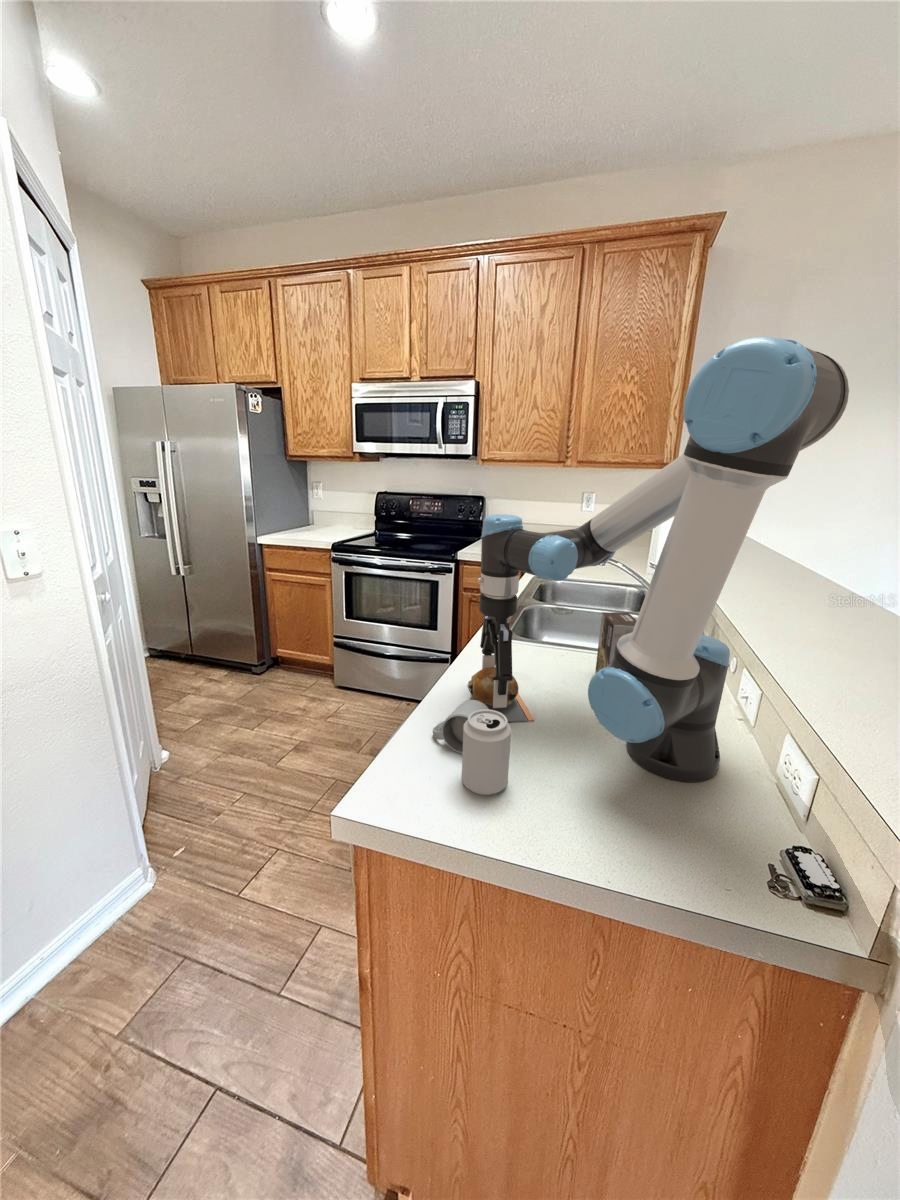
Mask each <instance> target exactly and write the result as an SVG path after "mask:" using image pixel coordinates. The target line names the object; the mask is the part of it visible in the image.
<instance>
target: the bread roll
mask: <svg viewBox="0 0 900 1200" xmlns="http://www.w3.org/2000/svg"><path fill="white" fill-rule="evenodd" d="M492 677H496V670H495V667H490V668H485V669H482V668H481V669H480V670H478V671H477V672H476V673H475V674H473V675H471V678H470V680H469V681H468V682H467V688H468V687H469V688H470V689H471V691H469V693H470V695H471V694H472V696H473V698H474V699H476V700H478V701H480V702H482V703H484V704H487V705H491V706H493V692H494V680H493V678H492ZM512 677H513V679H512V681H508V694H507V705H510V704H511V703H512V701H513V700H514V699H515V697H516V696H517V694H518V693H519V684H518V681H517V679H516V677H514V675H513V674H512ZM469 688H468V689H469ZM472 696H471V697H472ZM473 698H472V699H473ZM515 700H516V699H515Z"/></svg>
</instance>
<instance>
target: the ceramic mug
mask: <svg viewBox="0 0 900 1200" xmlns="http://www.w3.org/2000/svg"><path fill="white" fill-rule="evenodd" d="M483 709H488V710H489V708H488V707H487V706H486V705H485V704H484V703H482V702H480V701H478V700H473V699H468V700H466V701H463V702H462V703H461V704H459V705H458V706H457V707H456V708H455V709H454V710H453V711H452V712H451V713H450V714H449V715H448V716H446V718H445V720H444V721H441V722H439V723H438V724H436V725H435V726H434V727H433V728H432V734H433V736H434V738H435V739H436V740H441V741H444V743H445V745H446V746H448V748H449V749H451V750H453V751H454V752H455V753H458V754H462V755H463V728H464V723H465V722H466V721H467V720H468V716H469V715H470V714H471V713H473V712H474V711H477V710H483Z"/></svg>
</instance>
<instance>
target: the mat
mask: <svg viewBox="0 0 900 1200" xmlns="http://www.w3.org/2000/svg"><path fill="white" fill-rule="evenodd" d="M467 688H468V691H469V692H470V691H471V689H470V688H469V687H468V686H467ZM471 695H472V694H471V693H470V696H471ZM471 698H472V700H476V699H474V698H473V696H471ZM485 705H486V706H487V707H488V708H489V710H495V711H498V712H500V713H502V714H503V715H504V716H506V718H507V720H508V724H509V723H525V722H535V719H534V717H533V715H532V713H531V712H530V710H529V709H528V708H529V707H528V706H527V705H526V703H525V702H524V700H523V698H522V697H521V695H520V693H519V692H518V694H517V696H516V697H515V699H514V700H513V701H512V703H511V704H510V705H507V707H504V708H493V706H491V705H487V704H485Z"/></svg>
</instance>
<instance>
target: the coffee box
mask: <svg viewBox="0 0 900 1200" xmlns="http://www.w3.org/2000/svg"><path fill="white" fill-rule="evenodd" d="M636 621H637V618H635V617H634V616H633V615H631V614H630V612H624V611H623V612H620V611H619V612H618V611H617V612H616V611H615V612H612V611H611V612H604V611H603V612H601V619H600V629H599V636H598V644H597V646H598V647H597V655H596V663H595V664H596V665H595V669H594V670H595V672H594V675H595V674H596V673H597V672H598V671H599V670H600V669H603V668H605V667H608V666H609V664H610V661H611V659H612V656H613V653H614V650H615V647H616V645H617V642H618V640H619V638H620V637H622V636H623V635H626V634H629V633H632V632H633V629H634V626H635V624H636Z"/></svg>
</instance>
